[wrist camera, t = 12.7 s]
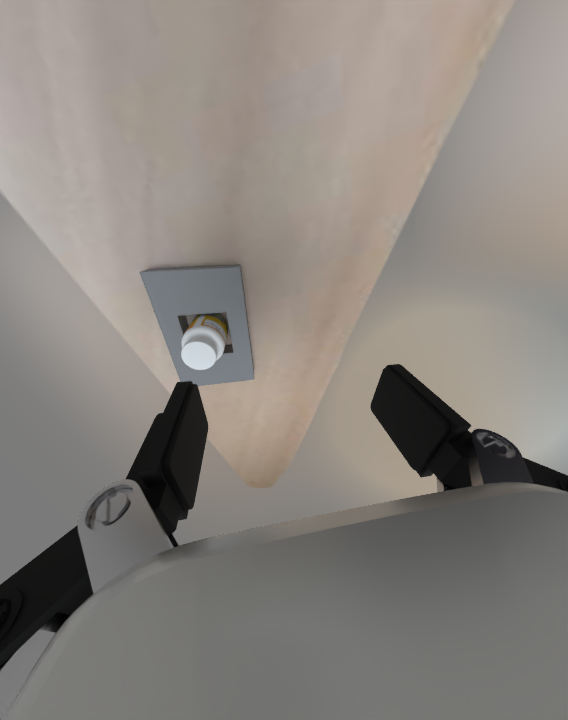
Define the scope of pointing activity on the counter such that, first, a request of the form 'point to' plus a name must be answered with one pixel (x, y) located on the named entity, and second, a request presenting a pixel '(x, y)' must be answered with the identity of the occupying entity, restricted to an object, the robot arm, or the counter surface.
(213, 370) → the socket block
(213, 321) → the supplement bottle
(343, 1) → the counter surface
